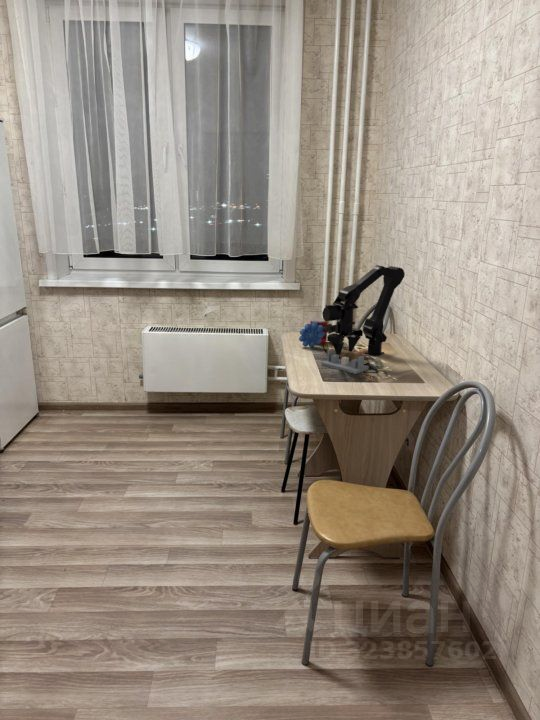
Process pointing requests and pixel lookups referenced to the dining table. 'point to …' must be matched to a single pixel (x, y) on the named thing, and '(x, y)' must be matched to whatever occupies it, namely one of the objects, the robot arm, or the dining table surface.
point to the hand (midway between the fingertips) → (344, 354)
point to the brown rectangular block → (348, 354)
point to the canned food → (322, 322)
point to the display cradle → (345, 363)
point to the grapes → (311, 334)
